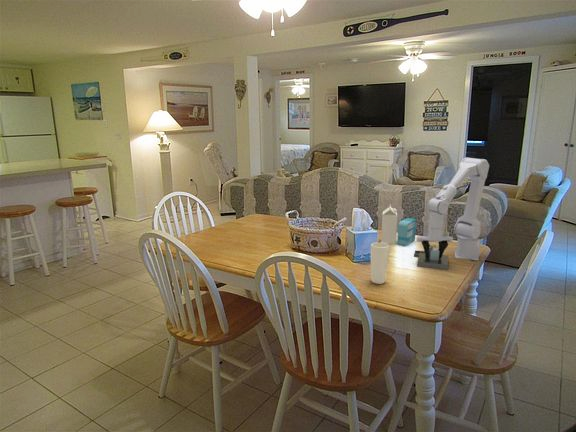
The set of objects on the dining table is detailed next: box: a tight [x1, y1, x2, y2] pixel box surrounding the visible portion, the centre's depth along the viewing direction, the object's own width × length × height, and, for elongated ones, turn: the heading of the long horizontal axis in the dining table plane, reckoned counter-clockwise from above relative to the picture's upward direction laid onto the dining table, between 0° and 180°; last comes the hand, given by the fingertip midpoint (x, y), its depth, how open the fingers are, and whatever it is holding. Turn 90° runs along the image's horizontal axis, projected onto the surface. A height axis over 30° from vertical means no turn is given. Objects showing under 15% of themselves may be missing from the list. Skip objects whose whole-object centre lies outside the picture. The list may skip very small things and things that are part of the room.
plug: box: [427, 244, 440, 261], centre depth 173 cm, size 4×4×8 cm
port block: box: [416, 252, 449, 271], centre depth 174 cm, size 12×12×3 cm
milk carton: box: [380, 203, 398, 245], centre depth 201 cm, size 7×7×19 cm
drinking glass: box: [370, 241, 390, 285], centre depth 155 cm, size 7×7×15 cm
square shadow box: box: [413, 249, 425, 258], centre depth 184 cm, size 6×6×2 cm
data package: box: [396, 217, 417, 247], centre depth 200 cm, size 12×4×12 cm, turn 142°
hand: (433, 257), depth 173 cm, fingers open, 5 cm apart
